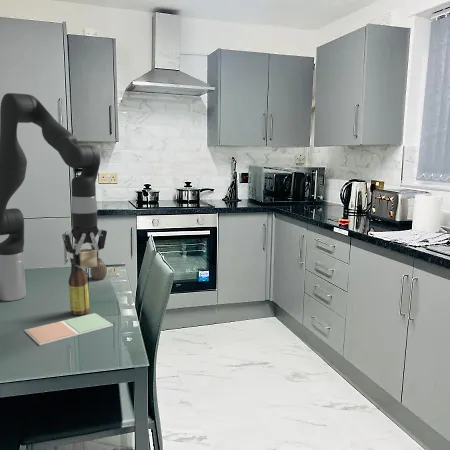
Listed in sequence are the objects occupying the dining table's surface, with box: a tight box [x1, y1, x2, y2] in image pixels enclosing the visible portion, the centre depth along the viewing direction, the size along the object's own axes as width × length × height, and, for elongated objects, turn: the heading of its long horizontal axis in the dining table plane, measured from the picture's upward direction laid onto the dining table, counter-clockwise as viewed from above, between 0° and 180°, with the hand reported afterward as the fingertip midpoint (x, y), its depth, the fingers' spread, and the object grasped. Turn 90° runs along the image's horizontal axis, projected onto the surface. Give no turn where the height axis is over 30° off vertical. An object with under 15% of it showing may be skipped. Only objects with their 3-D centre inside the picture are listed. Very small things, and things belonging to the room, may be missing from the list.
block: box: [75, 247, 97, 270], centre depth 140 cm, size 5×5×5 cm
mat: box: [24, 312, 114, 346], centre depth 140 cm, size 13×23×1 cm, turn 131°
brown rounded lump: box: [89, 257, 108, 281], centre depth 192 cm, size 7×7×9 cm
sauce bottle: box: [67, 255, 90, 316], centre depth 152 cm, size 7×6×20 cm
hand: (86, 263), depth 140 cm, fingers closed on block, 5 cm apart
